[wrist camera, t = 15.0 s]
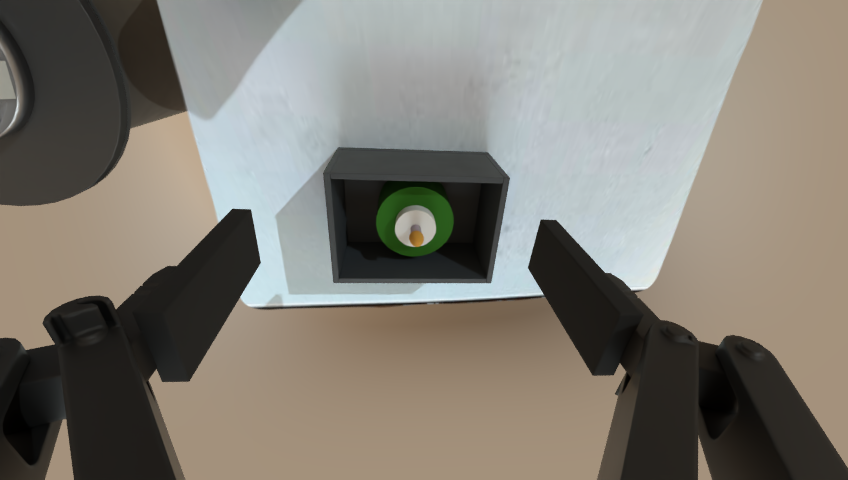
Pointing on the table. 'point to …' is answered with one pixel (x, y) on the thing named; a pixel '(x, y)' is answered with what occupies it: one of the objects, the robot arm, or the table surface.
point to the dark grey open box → (371, 168)
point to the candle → (414, 217)
